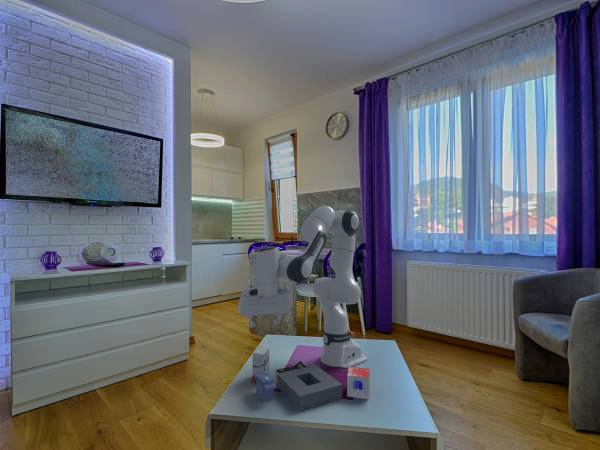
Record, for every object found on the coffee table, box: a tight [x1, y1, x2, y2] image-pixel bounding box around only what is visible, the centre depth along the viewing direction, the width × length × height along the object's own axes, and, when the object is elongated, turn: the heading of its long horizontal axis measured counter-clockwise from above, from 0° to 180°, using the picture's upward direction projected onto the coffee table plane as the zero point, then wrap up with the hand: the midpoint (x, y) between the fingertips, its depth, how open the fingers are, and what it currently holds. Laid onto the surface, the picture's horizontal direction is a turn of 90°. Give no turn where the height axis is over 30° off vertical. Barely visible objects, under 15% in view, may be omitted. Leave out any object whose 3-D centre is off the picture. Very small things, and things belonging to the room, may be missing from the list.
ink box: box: [251, 345, 270, 383], centre depth 131 cm, size 9×5×12 cm, turn 168°
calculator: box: [276, 360, 307, 374], centre depth 135 cm, size 9×12×3 cm
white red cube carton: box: [346, 366, 370, 400], centre depth 120 cm, size 8×8×8 cm
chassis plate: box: [276, 364, 343, 412], centre depth 120 cm, size 18×19×5 cm
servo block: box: [254, 372, 278, 403], centre depth 116 cm, size 4×13×8 cm, turn 29°
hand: (264, 326), depth 118 cm, fingers open, 8 cm apart
